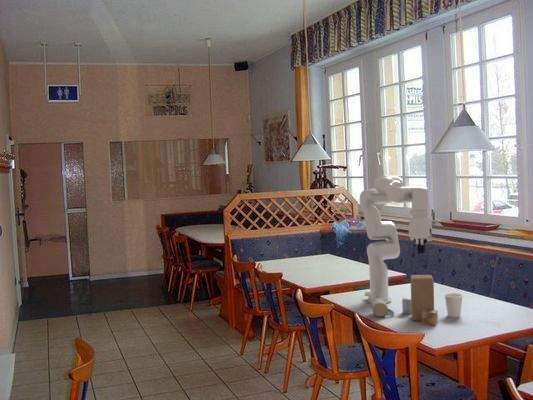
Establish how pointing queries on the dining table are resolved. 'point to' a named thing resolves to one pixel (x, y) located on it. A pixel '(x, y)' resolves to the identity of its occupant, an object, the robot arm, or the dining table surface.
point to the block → (421, 295)
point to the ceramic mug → (380, 308)
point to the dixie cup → (453, 304)
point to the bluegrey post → (406, 305)
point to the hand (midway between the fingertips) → (421, 253)
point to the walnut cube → (429, 317)
